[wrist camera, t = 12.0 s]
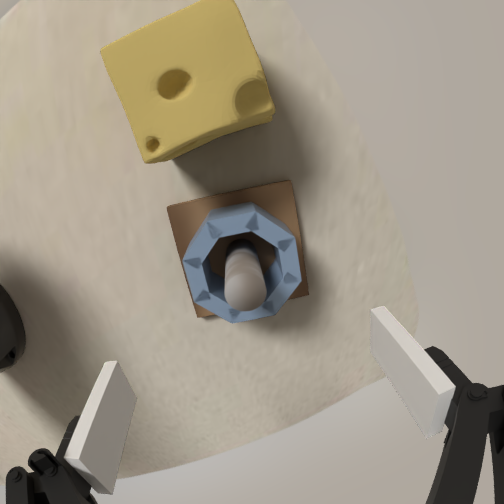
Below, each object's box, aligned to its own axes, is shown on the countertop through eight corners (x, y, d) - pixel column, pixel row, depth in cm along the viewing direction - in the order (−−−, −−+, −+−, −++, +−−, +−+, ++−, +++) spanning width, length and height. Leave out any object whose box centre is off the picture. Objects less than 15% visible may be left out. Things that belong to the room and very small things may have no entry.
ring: (205, 303, 33) (202, 328, 28) (182, 216, 30) (173, 228, 25) (294, 285, 33) (305, 308, 28) (280, 195, 30) (289, 204, 25)
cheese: (270, 122, 29) (288, 109, 19) (166, 165, 29) (137, 172, 20) (230, 31, 25) (230, -15, 16) (128, 74, 26) (88, 47, 17)
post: (198, 313, 34) (188, 370, 25) (168, 205, 30) (141, 230, 21) (306, 290, 34) (333, 341, 25) (289, 180, 30) (315, 193, 21)
